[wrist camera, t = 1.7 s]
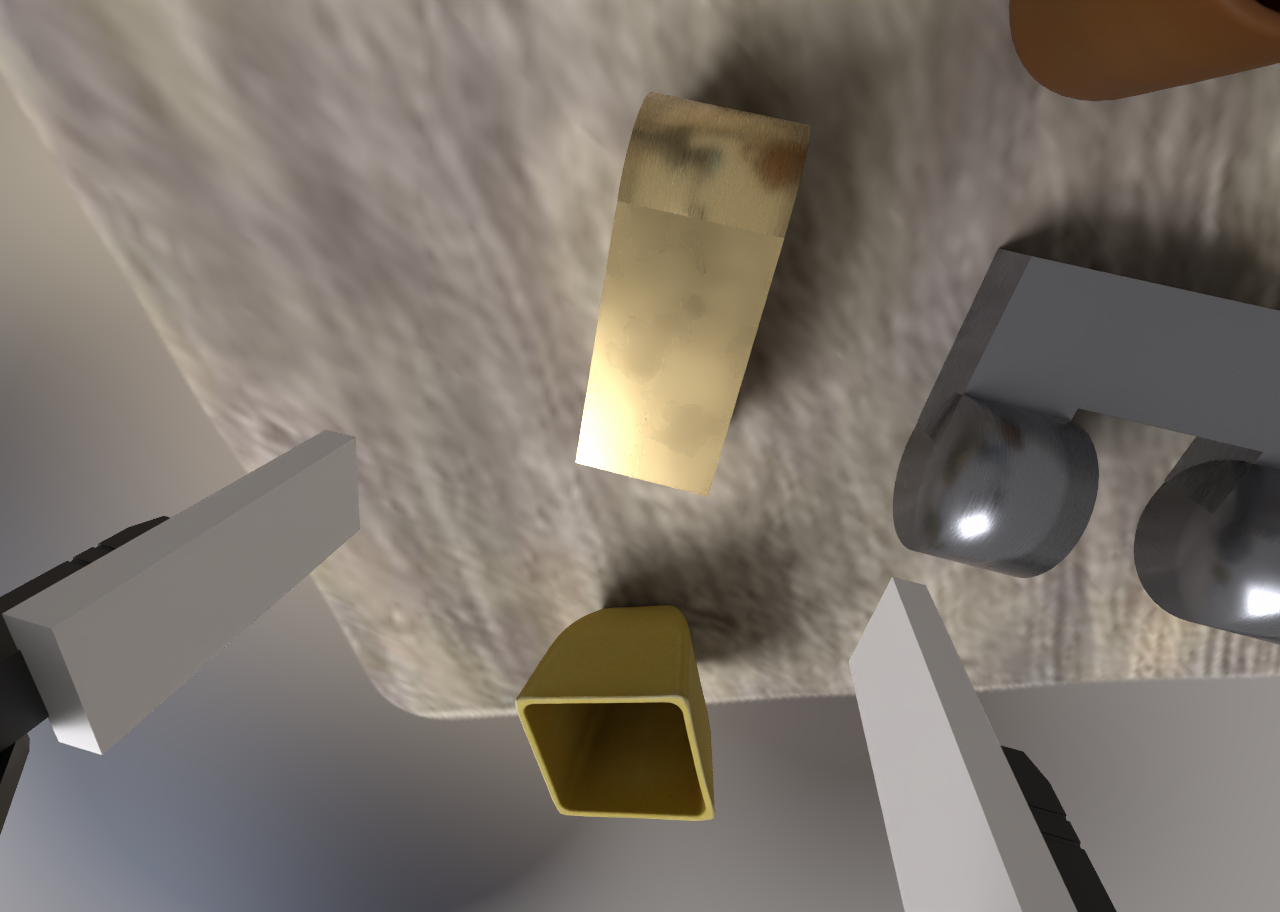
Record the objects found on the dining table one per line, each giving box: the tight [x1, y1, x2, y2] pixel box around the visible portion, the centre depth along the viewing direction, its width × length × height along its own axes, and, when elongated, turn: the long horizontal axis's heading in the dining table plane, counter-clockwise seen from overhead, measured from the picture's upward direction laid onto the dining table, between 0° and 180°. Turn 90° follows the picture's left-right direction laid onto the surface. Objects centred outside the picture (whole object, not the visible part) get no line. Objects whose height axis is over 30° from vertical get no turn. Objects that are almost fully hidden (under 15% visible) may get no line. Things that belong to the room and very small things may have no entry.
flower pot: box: [515, 605, 715, 821], centre depth 32 cm, size 9×9×9 cm
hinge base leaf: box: [893, 248, 1280, 645], centre depth 22 cm, size 12×16×7 cm
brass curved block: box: [576, 92, 811, 496], centre depth 23 cm, size 14×6×7 cm, turn 169°
